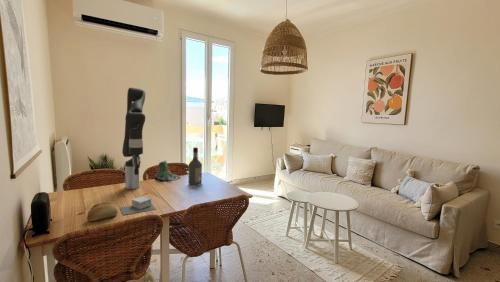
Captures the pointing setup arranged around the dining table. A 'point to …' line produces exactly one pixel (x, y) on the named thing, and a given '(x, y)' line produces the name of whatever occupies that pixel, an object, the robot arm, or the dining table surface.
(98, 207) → the bread roll
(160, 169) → the tree stump
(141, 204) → the medicine box
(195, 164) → the liquor
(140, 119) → the robot arm
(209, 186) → the dining table surface
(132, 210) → the mat
